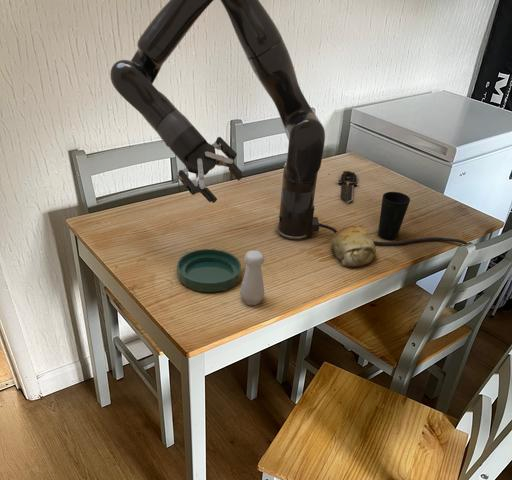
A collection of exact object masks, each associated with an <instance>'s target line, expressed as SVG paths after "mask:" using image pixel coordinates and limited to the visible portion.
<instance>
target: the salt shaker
mask: <svg viewBox="0 0 512 480" xmlns="http://www.w3.org/2000/svg"><path fill="white" fill-rule="evenodd" d="M244 262H245V264H246V267H245V271H244V275H243V278H242V282H241V285H240V286H241V287H240V289H239V293H240V297H241V298H242V301H243V302H244V303H245V304H246V305H249V306H256V305H259V304H260V303H261V302H262V300H263V299H264V296H265V293H266V292H265V285H264V278H263V271H262V265H263V264H264V262H265V255H264V253H263V252H262V251H260V250H258V249H257V250H256V249H255V250H254V249H252V250H249V251H247V252H246V254H245V256H244Z"/></svg>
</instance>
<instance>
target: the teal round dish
mask: <svg viewBox="0 0 512 480" xmlns="http://www.w3.org/2000/svg"><path fill="white" fill-rule="evenodd" d="M176 276H177V278H178V280H179V282H180V283H181V284H182V285H183V286H185V287H186V288H189V289H191V290H193V291H198V292H201V293H217V292H222V291H226V290H228V289H231V288H233V287H234V286H236V285H237V284H238V283H239V282H240V280H241V278H242V263H241V260H239V258H238V257H236V255H234V254H232V253H230V252H228V251H225V250H220V249H216V248H202V249H196V250H193V251H190V252H186V253H185V254H183V255H181V257H179V259H178V261H177V263H176Z"/></svg>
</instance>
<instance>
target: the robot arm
mask: <svg viewBox="0 0 512 480" xmlns="http://www.w3.org/2000/svg"><path fill="white" fill-rule="evenodd" d="M213 2H214V0H169V1H168V2H167V3H165V5H164V6H163V7H162V9H160V10H159V12H158V13H157V14H156V15H155V16H154V18H153V19H152V20H151V21H150V23H149V24H148V25H147V27H146V28H145V29H144V31H143V33H142V34H141V35H140V36H139V39H138V40H137V45H136V46H137V49H136V52H135V53H134V55H133V56H132V59H131V60H129V59H121V60H120V59H119V60H118V61H116V62H114V64H113V65H112V66H111V68H110V74H109V76H110V82H111V84H112V86H113V88H114V89H115V90H116V92H117V93H118V94H119V95H120V96H121V97H122V98H123V99H124V100H125V101H126V102H127V103H129V105H130V106H131V107H133V108H134V109H135V110H136V111H138V112H139V114H140V115H141V116H142V117H143V118H144V120H145V121H146V122H147V123H148V124H149V126H150V127H151V128H152V129H153V130H154V131H155V133H157V135H158V136H159V137H160V139H161V141H162V142H163V143H164V144H165V146H166V147H167V148H169V150H170V151H171V152H172V153H173V155H175V156H176V158H178V160H179V161H180V162H181V163H182V164H183V165H184V168H183V169H179V170H178V172H177V175H176V177H177V178H178V180H179V181H180V182H181V183H182V184H183V186H184V187H185V188H186V189H187V191H188V192H189V193H190V195H192V196H195V195H196V194H201V195H202V196H203V197H204V198H205V199H206V200H207V201H208V202H209V203H212V204H214V203H216V202H217V201H218V198H217V197H216V195H215V194H214V193H213V192H212V191H211V190H210V188H208V187H207V186H206V185H205V176H207V175H208V173H209V172H210V171H212V170H213V169H215V167H216V166H217V167H226V168H228V171H229V172H230V173H231V174H232V175H233V177H235V178H236V180H237V181H240V180H242V179H243V172H242V170H241V169H240V168H239V167H238V166H237V165H236V163H235V159H236V157H238V155H237V152H236V151H235V150H234V149H233V148H232V147H231V146H230V145H229V144H228V143H227V142H226V141H225V140H224V139H223V138H222V137H221V136H218V137H217V138H216V140H215V141H214V142H213V143H210V142H208V141H207V139H206V138H205V137H204V136H203V135H202V134H201V133H200V131H199V130H198V129H197V128H196V127H195V126H194V125H193V123H191V121H190V120H189V119H188V118H187V117H186V116H185V115H184V114H183V113H182V112H181V111H180V110H179V109H177V107H176V106H175V104H173V103H172V101H171V100H170V99H169V98H168V97H167V96H166V95H165V94H164V93H163V92H161V91H159V90H158V89H157V87H156V86H154V82H155V80H156V79H157V78H158V75H159V73H160V71H161V68H162V67H163V65H164V63H165V62H166V61H167V60H168V59H169V57H170V56H172V53H174V51H175V50H176V48H177V47H178V45H179V44H180V43H182V40H183V39H184V37H186V36H187V34H188V32H189V30H191V28H192V27H193V26H194V24H195V23H196V22H197V20H198V19H199V18H200V17H201V15H202V14H203V13H204V12H205V10H206V9H207V8H208V7H209V6H210V5H211V4H212V3H213ZM220 2H221V4H222V6H223V8H224V9H225V12H226V14H227V15H228V18H229V20H230V23H231V25H232V28H233V30H234V33H235V35H236V37H237V40H238V42H239V44H240V46H241V48H242V51H243V53H244V55H245V57H246V59H247V62H248V63H249V65H250V67H251V69H252V71H253V73H254V75H255V77H256V78H257V80H258V81H259V83H260V84H261V86H262V87H263V89H264V90H265V92H266V93H267V95H268V96H269V97H270V98H271V100H272V101H273V104H274V105H275V107H276V110H277V113H278V115H279V117H280V120H281V123H282V126H283V128H284V131H285V135H286V138H287V140H288V148H287V155H286V162H285V163H284V165H283V172H282V173H283V174H282V183H281V192H280V193H281V194H280V203H279V212H278V215H277V218H278V224H277V233H278V235H279V236H281V237H282V238H284V239H287V240H292V241H293V240H294V241H299V240H304V239H307V238H311V235H312V232H313V233H319V231H320V228H324V229H326V230H329V231H332V232H333V233H334V234H335V233H336V232H338V231H339V230H337V229H335V228H334V227H333V226H330V225H327V224H323V223H320V221H319V217H318V216H314V215H315V203H314V202H315V196H316V195H315V194H316V189H317V181H318V173H319V171H320V169H321V166H322V162H323V155H324V149H325V141H326V131H325V127H324V126H323V124H322V122H321V120H320V118H319V117H318V116H317V114H316V113H315V112H314V111H313V109H312V107H311V105H310V104H309V102H308V101H307V99H306V97H305V95H304V93H303V91H302V90H301V87H300V83H299V82H298V77H297V74H296V70H295V67H294V64H293V61H292V58H291V55H290V52H289V50H288V47H287V45H286V43H285V41H284V39H283V36H282V34H281V32H280V31H279V28H278V27H277V25H276V24H275V21H274V20H273V19H272V17H271V16H270V15H269V13H268V11H267V10H266V9H265V7H264V6H263V4H262V3H261V1H260V0H220ZM216 150H217V151H220V152H222V153H223V154H224V155H225V156H224V155H222V154H218V153H216ZM189 173H190V174H195V180H196V185H197V186H196V185H195V184H194V182H193V181H192V180H191V179H190V178H189V177H190V174H189ZM372 241H373V242H374V245H378V246H401V245H405V244H412V243H419V242H429V241H442V242H453V243H459V244H463V245H464V246H466V245H465V244H467V243H468V242H467V241H465V240H462V239H458V238H449V237H448V238H446V237H438V236H436V237H435V236H433V237H432V236H431V237H421V238H413V239H407V240H400V241H376V240H372Z"/></svg>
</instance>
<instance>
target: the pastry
mask: <svg viewBox="0 0 512 480" xmlns="http://www.w3.org/2000/svg"><path fill="white" fill-rule="evenodd" d="M337 231H338V232H336V233H334V234H333V239H332V240H331V241H330V245H331V249H332V251H333V255H334V256H335V257H336V259H337V260H338V261H339V262H341V265H342V266H343V267H352V268H353V267H360V266H365V265H369V264H370V263H372V261H373V258H374V257H375V256H376V254H377V249H376V244H374V242H373V241H374V240H373V239H372V238H371V235H370V233H369V231H368V230H366V228H364V227H363V226H362V225H349V226H345V227H343V228H341V229H340V230H337Z"/></svg>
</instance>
